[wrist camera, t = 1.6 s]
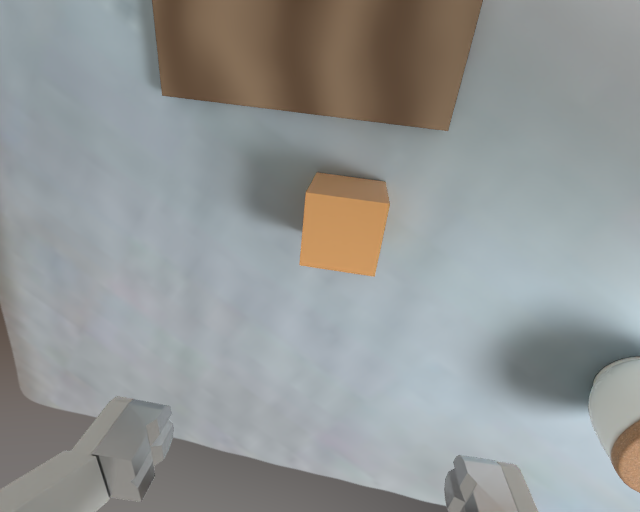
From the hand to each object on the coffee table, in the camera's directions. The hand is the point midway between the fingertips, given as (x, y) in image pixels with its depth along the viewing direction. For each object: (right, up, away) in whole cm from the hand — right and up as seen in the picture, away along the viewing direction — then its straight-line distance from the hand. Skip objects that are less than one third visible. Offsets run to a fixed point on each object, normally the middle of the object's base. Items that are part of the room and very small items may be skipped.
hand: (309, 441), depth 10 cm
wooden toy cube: (+2, +9, +18) cm, 20 cm away
